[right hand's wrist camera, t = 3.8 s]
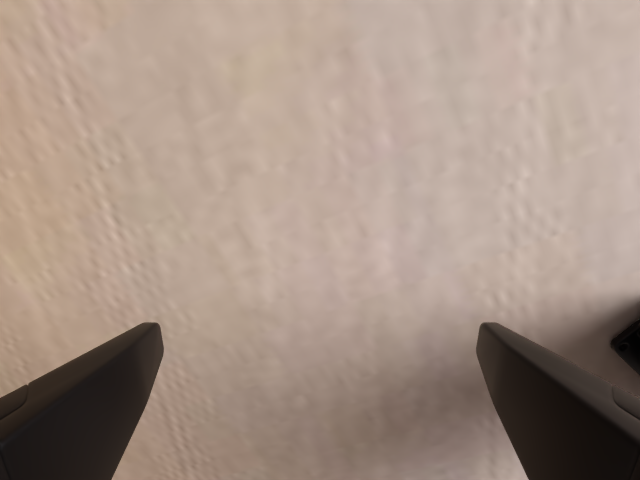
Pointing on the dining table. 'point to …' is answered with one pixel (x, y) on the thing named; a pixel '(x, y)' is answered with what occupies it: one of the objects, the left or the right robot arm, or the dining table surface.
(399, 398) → the dining table surface
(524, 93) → the dining table surface
